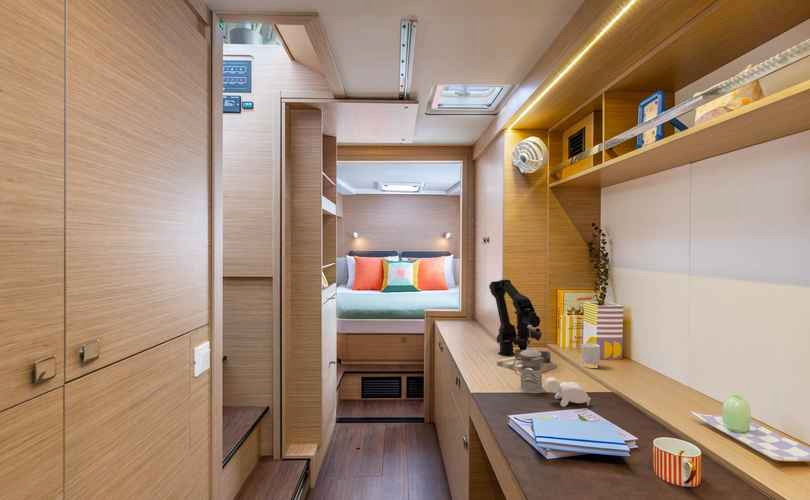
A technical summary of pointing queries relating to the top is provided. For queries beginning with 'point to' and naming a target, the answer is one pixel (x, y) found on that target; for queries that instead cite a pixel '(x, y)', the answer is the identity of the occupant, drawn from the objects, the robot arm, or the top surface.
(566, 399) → the white animal figurine
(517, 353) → the walnut leg
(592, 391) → the top surface
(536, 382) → the french press
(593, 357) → the white cup
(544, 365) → the stool seat
